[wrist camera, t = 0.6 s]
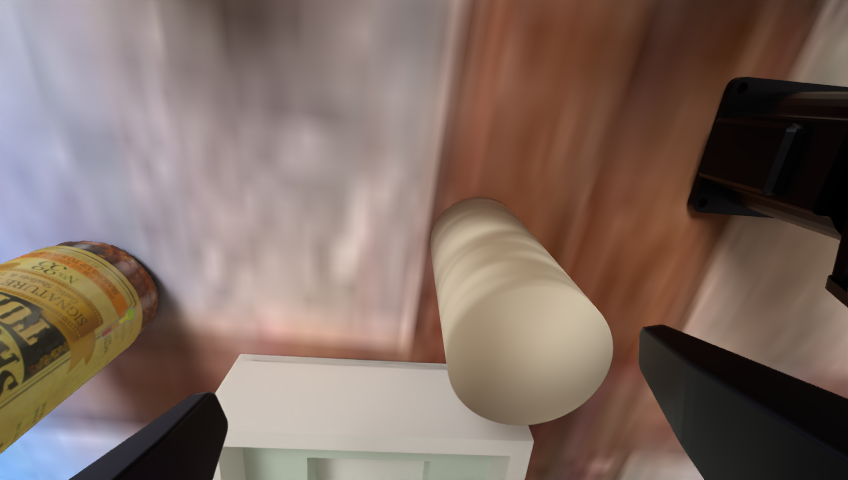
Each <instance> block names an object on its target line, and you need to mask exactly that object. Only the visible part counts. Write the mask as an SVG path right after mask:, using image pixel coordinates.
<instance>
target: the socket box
mask: <svg viewBox="0 0 848 480" xmlns="http://www.w3.org/2000/svg"><path fill="white" fill-rule="evenodd" d="M215 394H216V396H217V398H218V400H219V402H220V404H221V407H222V409H223V411H224V413H225V415H226V417H227V420H228V432H227V435H226V439H225V442H224V445H223V448H222V452H221V455H220V458H219V461H218V465H217V468H216V471H215V474H214V478H213V480H525V476H526V472H527V468H528V464H529V460H530V456H531V452H532V448H533V444H534V440H533V437H532V435H531V432H530V429H529V426H528V425H506V424H501V423H497V422H493V421H490V420H487V419H485V418H483V417H481V416H479V415H477V414H476V413H474V412H472V411H471V410H470V409H469V408H467V407H466V406H465V405H464V404H463V403H462V402H461V401H460V399H459V398H458V397H457V395H456V394H455V392H454V390H453V388H452V386H451V384H450V380H449V376H448V370H447V364H436V363H416V362H395V361H375V360H354V359H333V358H313V357H292V356H272V355H251V354H240V355H239V357H238V359H237V360H236V362H235V363H234V365H233V366H232V368H231V369H230V371H229V373H228V374H227V376H226V377H225V379H224V380H223V382H222V383H221V385H220V387H219V388H218V390H217V391H216V393H215Z"/></svg>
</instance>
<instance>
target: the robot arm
mask: <svg viewBox="0 0 848 480" xmlns="http://www.w3.org/2000/svg"><path fill="white" fill-rule="evenodd" d="M740 84H741V90H740V92H739V93H738V92H737V88H738V86H739V85H740ZM700 199H702V202H701V204H699V205H698V202H699V200H700ZM688 205H689V207H690V208H691V209H692V210H695V211H698V212H704V213H717V214H730V215H743V216H756V217H769V218H777V219H780V220H783V221H786V222H789V223H791V224H794V225H797V226H800V227H803V228H806V229H809V230H812V231H815V232H818V233H821V234H823V235H826V236H829V237H832V238H835V239H838V240H840V243H839V247H838V252H837V256H836V260H835V264H834V268H833V272H832V275H829V276H828V278H827V283H826V287H825V288H826V289H827V290H828V291H829V292H830V293H831V294H832V295H834V296H835V297H836V298H837V299H838V300H840V301H841V302H842V303H843V304H844V305H845V306H847V307H848V87H841V86H831V85H821V84H811V83H801V82H792V81H782V80H772V79H762V78H752V77H738V78H734V79H732V80H731V81H730V82H729V83H728V85H727V86H726V89H725V92H724V95H723V98H722V101H721V104H720V107H719V110H718V113H717V116H716V119H715V122H714V124H713V127H712V130H711V133H710V136H709V139H708V142H707V145H706V148H705V151H704V154H703V157H702V160H701V163H700V166H699V169H698V173H697V176H696V179H695V182H694V185H693V188H692V191H691V194H690V197H689V200H688ZM639 366H640V369H641V372H642V374H643V376H644V378H645V379H646V381H647V383H648V385H649V387H650V389H651V391H652V392H653V394H654V396H655V398H656V400H657V402H658V404H659V405H660V407H661V409H662V411H663V413H664V415H665V417H666V418H667V420H668V422H669V424H670V426H671V428H672V430H673V431H674V433H675V435H676V437H677V438H678V440H679V442H680V444H681V445H682V447H683V448H684V450H685V451H686V453H687V455H688V456H689V458H690V459H691V461H692V462H693V464H694V465H695V467H696V468H697V470H698V471H699V472H700V474H701V475H702V477H703V478H704V480H848V399H847V398H844V397H842V396H839V395H837V394H834V393H832V392H829V391H827V390H824V389H822V388H819V387H817V386H815V385H812V384H810V383H807V382H805V381H802V380H800V379H797V378H795V377H792V376H790V375H787V374H785V373H782V372H780V371H777V370H775V369H772V368H770V367H767V366H765V365H762V364H760V363H757V362H755V361H752V360H750V359H748V358H745V357H743V356H740V355H738V354H735V353H733V352H730V351H728V350H725V349H723V348H720V347H718V346H715V345H713V344H710V343H708V342H705V341H703V340H700V339H698V338H695V337H693V336H690V335H688V334H685V333H683V332H681V331H678V330H676V329H673V328H671V327H668V326H666V325H653V326H647V327H643V328H642V329H641V330H640V333H639ZM227 432H228V420H227V417H226V415H225V413H224V411H223V409H222V407H221V404H220V402H219V400H218V398H217V396H216V394H214V393H213V392H202V393H196V394H192V395H190V396H189V397H187V398H186V399H184V400H183V401H181V402H180V403H179V404H177V405H176V406H174V407H173V408H171V409H170V410H169V411H167V412H166V413H164V414H163V415H161V416H160V417H158V418H157V419H156V420H154V421H153V422H151V423H150V424H148V425H147V426H145V427H144V428H143V429H141V430H140V431H138V432H137V433H135V434H134V435H132V436H131V437H130V438H128V439H127V440H125V441H124V442H122V443H121V444H119V445H118V446H117V447H115V448H114V449H112V450H111V451H109V452H108V453H107V454H105V455H104V456H102V457H101V458H99V459H98V460H96V461H95V462H94V463H92V464H91V465H89V466H88V467H86V468H85V469H83V470H82V471H81V472H79V473H78V474H76V475H75V476H73V477H72V478H70V479H69V480H213V478H214V474H215V471H216V468H217V465H218V461H219V458H220V455H221V452H222V448H223V445H224V442H225V439H226V435H227Z"/></svg>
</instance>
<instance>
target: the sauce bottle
mask: <svg viewBox="0 0 848 480" xmlns="http://www.w3.org/2000/svg"><path fill="white" fill-rule="evenodd" d="M157 309H158V292H157V289H156V285H155V284H154V282H153V280H152V278H151V276H150V275H149V273H148V272H147V271H146V270H145V269H144V268H143V266H142V265H141V264H140V263H139V262H138V261H137V260H136V259H134V258H133V257H131V256H130V255H129V254H128V253H127V252H125V251H121V250H120V249H119V248H118V247H115V246H113V245H108V244H105V243H99V242H89V241H80V242H64V243H61V244H58V245H56V246H52V247H46V248H42V249H39V250H36V251H33V252H31V253H28V254H26V255H23V256H21V257H18V258H15V259H13V260H10V261H8V262H5V263H3V264H0V454H1V453H2V452H3V451H5V450H6V449H7V448H8V447H9V446H10V445H12V444H13V443H14V442H15V441H16V440H18V439H19V438H20V437H21V436H22V435H24V434H25V433H26V432H27V431H28V430H29V429H31V428H32V427H33V426H34V425H35V424H37V423H38V422H39V421H40V420H41V419H43V418H44V417H45V416H46V415H47V414H49V413H50V412H51V411H52V410H53V409H55V408H56V407H57V406H58V405H59V404H61V403H62V402H63V401H64V400H65V399H67V398H68V397H69V396H70V395H71V394H73V393H74V392H75V391H76V390H78V389H79V388H80V387H81V386H82V385H84V384H85V383H86V382H87V381H88V380H90V379H91V378H92V377H93V376H94V375H96V374H97V373H98V372H99V371H101V370H102V369H103V368H104V367H105V366H106V365H108V364H109V363H110V362H111V361H112V360H114V359H115V358H116V357H117V356H118V355H120V354H121V353H122V352H123V351H124V350H125V349H127V348H128V347H129V346H130V345H131V344H132V343H133V342H134V341H135V339H136V338H137V336H138V335H139V334H140V333H141V332H143V331H144V330H145V329H146V328H147V326H148V325H149V324H150V323H151V322H152V320H153V319H154V317H155V314H156V313H157Z"/></svg>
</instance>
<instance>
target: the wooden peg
mask: <svg viewBox="0 0 848 480" xmlns="http://www.w3.org/2000/svg"><path fill="white" fill-rule="evenodd" d="M430 247H431V255H432V262H433V270H434V277H435V284H436V291H437V298H438V306H439V313H440V320H441V327H442V334H443V341H444V349H445V356H446V363H447V370H448V376H449V380H450V384H451V386H452V388H453V390H454V392H455V394H456V395H457V397H458V398H459V399H460V401H461V402H462V403H463V404H464V405H465V406H466V407H467V408H469V409H470V410H471V411H472V412H474V413H476V414H477V415H479V416H481V417H483V418H485V419H487V420H490V421H493V422H497V423H501V424H506V425H533V424H539V423H544V422H548V421H551V420H554V419H557V418H559V417H561V416H564V415H566V414H568V413H569V412H571V411H573V410H575V409H576V408H578V407H579V406H581V405H582V404H583V403H584V402H586V401H587V400H588V399H589V398H590V397H591V396H592V395H593V394H594V393H595V392H596V391H597V389H598V388H599V386H600V385H601V384H602V382H603V380H604V379H605V377H606V375H607V373H608V370H609V368H610V365H611V360H612V354H613V342H612V336H611V332H610V329H609V327H608V324H607V322H606V320H605V319H604V317H603V316H602V314H601V313H600V312H599V311H598V310H597V308H596V307H595V306H594V305H593V304H592V303H591V302H590V300H589V299H588V298H587V297H586V296H585V295H584V293H583V292H582V291H581V290H580V289H579V288H578V287H577V285H576V284H575V283H574V282H573V281H572V280H571V278H570V277H569V276H568V275H567V274H566V273H565V272H564V270H563V269H562V268H561V267H560V266H559V265H558V263H557V262H556V261H555V260H554V259H553V258H552V257H551V255H550V254H549V253H548V252H547V251H546V250H545V248H544V247H543V246H542V245H541V244H540V243H539V242H538V240H537V239H536V238H535V237H534V236H533V235H532V233H531V232H530V231H529V230H528V229H527V228H526V227H525V225H524V224H523V223H522V222H521V221H520V220H519V218H518V217H517V216H516V215H515V214H514V213H513V212H512V211H511V209H509V208H508V207H507V206H506V205H504V204H503V203H501V202H499V201H496V200H494V199H490V198H484V197H475V198H468V199H464V200H462V201H459V202H457V203H455V204H453V205H452V206H450V207H449V208H447V209H446V210H445V211H444V212H443V213H442V214H441V216H440V217H439V218H438V220H437V221H436V223H435V225H434V227H433V230H432V233H431V238H430Z"/></svg>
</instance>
